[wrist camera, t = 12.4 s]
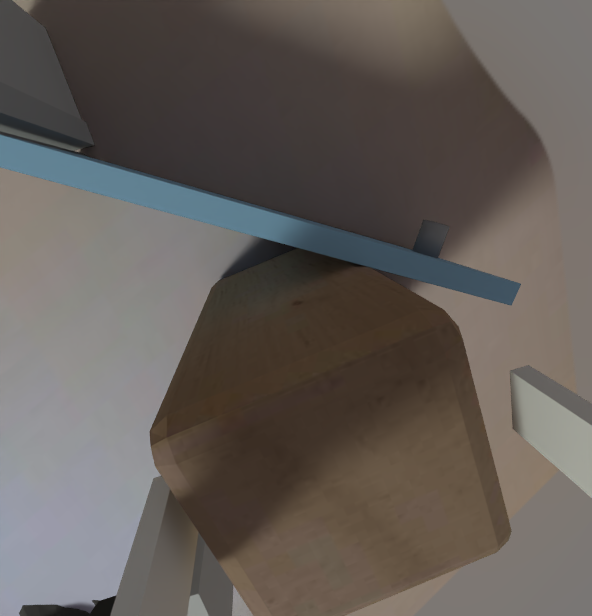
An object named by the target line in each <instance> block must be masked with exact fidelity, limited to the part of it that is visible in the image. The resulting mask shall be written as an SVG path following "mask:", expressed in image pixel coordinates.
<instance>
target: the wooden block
mask: <svg viewBox="0 0 592 616" xmlns="http://www.w3.org/2000/svg"><path fill="white" fill-rule="evenodd" d="M150 443H151V450H152V455H153V459H154V463H155V467H156V468H157V470H158V471H159V473H160V474H161V476H162V477H163V479H164V481H165V482H166V484H167V485H168V487H169V488H170V490H171V491H172V493H173V494H174V496H175V497H176V499H177V500H178V502H179V503H180V505H181V506H182V508H183V509H184V511H185V512H186V514H187V515H188V517H189V518H190V520H191V521H192V523H193V524H194V526H195V528H196V529H197V531H198V532H199V534H200V535H201V537H202V538H203V540H204V541H205V543H206V544H207V546H208V547H209V549H210V550H211V552H212V553H213V555H214V556H215V558H216V559H217V561H218V562H219V564H220V565H221V567H222V568H223V570H224V571H225V573H226V575H227V576H228V578H229V579H230V581H231V582H232V584H233V585H234V587H235V588H236V590H237V591H238V593H239V594H240V596H241V597H242V599H243V600H244V602H245V603H246V605H247V606H248V608H249V609H250V611H251V612H252V614H253V615H254V616H345V615H347V614H350V613H352V612H354V611H357V610H359V609H362V608H364V607H366V606H369V605H371V604H374V603H376V602H378V601H381V600H383V599H386V598H388V597H390V596H393V595H395V594H398V593H400V592H402V591H405V590H407V589H410V588H412V587H414V586H417V585H419V584H422V583H424V582H426V581H429V580H431V579H434V578H436V577H438V576H441V575H443V574H446V573H448V572H451V571H453V570H455V569H458V568H460V567H463V566H465V565H467V564H470V563H472V562H474V561H477V560H479V559H482V558H484V557H487V556H489V555H491V554H494V553H496V552H497V551H498V550H500V548H501V547H502V546H503V545H504V544H505V543H506V542H507V541H508V540H509V537H510V534H511V527H510V523H509V519H508V516H507V512H506V508H505V504H504V500H503V496H502V492H501V488H500V484H499V480H498V476H497V472H496V468H495V464H494V460H493V457H492V453H491V449H490V445H489V441H488V437H487V433H486V429H485V425H484V421H483V417H482V413H481V409H480V405H479V401H478V398H477V394H476V390H475V386H474V382H473V378H472V374H471V370H470V366H469V362H468V358H467V354H466V350H465V346H464V342H463V339H462V336H461V333H460V330H459V327H458V326H457V324H456V323H455V322H454V321H453V320H452V319H451V317H450V316H449V315H448V314H447V313H446V312H445V310H443V309H442V308H440V307H438V306H436V305H435V304H433V303H431V302H429V301H428V300H426V299H424V298H422V297H421V296H419V295H417V294H416V293H414V292H412V291H410V290H409V289H407V288H405V287H403V286H402V285H400V284H398V283H396V282H395V281H393V280H391V279H389V278H388V277H386V276H384V275H382V274H381V273H379V272H377V271H375V270H374V269H372V268H370V267H367V266H363V265H360V264H356V263H352V262H349V261H345V260H341V259H337V258H334V257H330V256H326V255H323V254H319V253H315V252H312V251H308V250H304V249H300V248H297V249H294V250H292V251H289V252H287V253H285V254H282V255H280V256H277V257H275V258H272V259H270V260H268V261H265V262H263V263H260V264H258V265H256V266H253V267H251V268H248V269H246V270H243V271H241V272H239V273H236V274H234V275H231V276H229V277H227V278H224V279H222V280H219V281H218V282H217V283H216V284H215V285H214V286H213V287H212V288H211V291H210V293H209V295H208V297H207V300H206V302H205V304H204V307H203V309H202V311H201V314H200V316H199V318H198V321H197V323H196V325H195V328H194V330H193V332H192V335H191V337H190V339H189V342H188V344H187V346H186V349H185V351H184V353H183V356H182V358H181V360H180V362H179V365H178V367H177V369H176V372H175V374H174V376H173V379H172V381H171V383H170V386H169V388H168V390H167V393H166V395H165V397H164V400H163V402H162V404H161V407H160V409H159V411H158V414H157V416H156V418H155V421H154V423H153V425H152V428H151V430H150Z"/></svg>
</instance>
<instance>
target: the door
mask: <svg viewBox="0 0 592 616" xmlns="http://www.w3.org/2000/svg"><path fill="white" fill-rule="evenodd" d="M0 167H1V168H5V169H8V170H12V171H16V172H19V173H23V174H27V175H31V176H34V177H38V178H42V179H45V180H49V181H53V182H56V183H60V184H64V185H68V186H71V187H75V188H79V189H82V190H86V191H90V192H93V193H97V194H101V195H105V196H108V197H112V198H116V199H119V200H123V201H127V202H130V203H134V204H138V205H141V206H145V207H149V208H153V209H156V210H160V211H164V212H167V213H171V214H175V215H178V216H182V217H186V218H190V219H193V220H197V221H201V222H204V223H208V224H212V225H215V226H219V227H223V228H227V229H230V230H234V231H238V232H241V233H245V234H249V235H252V236H256V237H260V238H263V239H267V240H271V241H275V242H278V243H282V244H286V245H289V246H293V247H297V248H300V249H304V250H308V251H312V252H315V253H319V254H323V255H326V256H330V257H334V258H337V259H341V260H345V261H349V262H352V263H356V264H360V265H363V266H367V267H371V268H374V269H378V270H382V271H385V272H389V273H393V274H397V275H400V276H404V277H408V278H411V279H415V280H419V281H422V282H426V283H430V284H434V285H437V286H441V287H445V288H448V289H452V290H456V291H459V292H463V293H467V294H471V295H474V296H478V297H482V298H485V299H489V300H493V301H496V302H500V303H504V304H507V305H512V303H513V301H514V299H515V296H516V294H517V292H518V290H519V288H520V285H521V284H520V283H517V282H514V281H510V280H507V279H504V278H501V277H498V276H494V275H491V274H488V273H485V272H482V271H479V270H475V269H472V268H469V267H466V266H463V265H459V264H456V263H453V262H450V261H447V260H443V259H440V258H438V256H439V253H440V251H441V248H442V245H443V243H444V240H445V238H446V235H447V232H448V230H449V226H446V225H443V224H440V223H437V222H433V221H428V220H423V223H422V226H421V228H420V231H419V234H418V237H417V239H416V242H415V245H414V248H413V250H411V249H407V248H404V247H400V246H397V245H393V244H390V243H387V242H383V241H380V240H376V239H373V238H369V237H366V236H362V235H359V234H355V233H352V232H348V231H345V230H341V229H338V228H334V227H331V226H327V225H324V224H321V223H317V222H314V221H310V220H307V219H303V218H300V217H296V216H293V215H289V214H286V213H282V212H279V211H275V210H272V209H268V208H265V207H261V206H258V205H254V204H251V203H248V202H244V201H241V200H237V199H234V198H230V197H227V196H223V195H220V194H216V193H213V192H209V191H206V190H202V189H199V188H195V187H192V186H188V185H185V184H182V183H178V182H175V181H171V180H168V179H164V178H161V177H157V176H154V175H150V174H147V173H143V172H140V171H136V170H133V169H129V168H126V167H122V166H119V165H116V164H112V163H109V162H105V161H102V160H98V159H95V158H91V157H88V156H86V155H85V154H83V153H79V152H75V151H72V150H68V149H64V148H61V147H57V146H53V145H50V144H46V143H42V142H38V141H35V140H31V139H27V138H24V137H20V136H16V135H13V134H9V133H5V132H1V131H0Z"/></svg>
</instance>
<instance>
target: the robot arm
mask: <svg viewBox="0 0 592 616" xmlns="http://www.w3.org/2000/svg"><path fill="white" fill-rule="evenodd" d="M510 384H511V403H512V423H513V429H514V430H515V431H516V432H517V433H518V434H519V435H521V436H522V437H523V438H524V439H525V440H526V441H527V442H529V443H530V444H531V445H532V446H533V447H534V448H535V449H537V450H538V451H539V452H540V453H541V454H542V455H543V456H545V457H546V458H547V459H548V460H549V461H550V462H551V463H553V464H554V465H555V466H556V467H557V468H558V469H559V470H561V471H562V472H563V473H564V474H565V475H566V476H567V477H569V478H570V479H571V480H572V481H573V482H574V483H575V484H577V485H578V486H579V487H580V488H581V489H582V490H583V491H585V492H586V493H587V494H588V495H589V496H590V497H591V498H592V404H591V403H590V402H588V401H587V400H585V399H583V398H581V397H580V396H578V395H577V394H575V393H573V392H572V391H570V390H568V389H567V388H565V387H564V386H562V385H560V384H559V383H557V382H555V381H554V380H552V379H550V378H549V377H547V376H545V375H544V374H542V373H540V372H539V371H537V370H535V369H534V368H532V367H530V366H529V365H528V366H524V367H521V368H518V369H514V370H511V371H510ZM197 539H198V531H197V529H196V528H195V526H194V524H193V523H192V521H191V520H190V518H189V517H188V515H187V514H186V512H185V511H184V509H183V508H182V506H181V505H180V503H179V502H178V500H177V499H176V497H175V496H174V494H173V493H172V491H171V490H170V488H169V487H168V485H167V484H166V482H165V481H164V479H163V477H162V476H160V477H156V478H154V479H153V482H152V485H151V488H150V491H149V495H148V498H147V501H146V504H145V507H144V510H143V514H142V517H141V520H140V523H139V526H138V529H137V532H136V536H135V539H134V542H133V545H132V548H131V551H130V555H129V558H128V561H127V564H126V567H125V570H124V574H123V577H122V580H121V583H120V586H119V589H118V592H117V596H113V597H110V598H107V599H104V600H101V601H98V603H97V604H96V606H95V607H94V609H93V610H92V612H91V613H90V615H89V616H187V614H188V606H189V599H190V591H191V584H192V576H193V569H194V562H195V554H196V547H197Z"/></svg>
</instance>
